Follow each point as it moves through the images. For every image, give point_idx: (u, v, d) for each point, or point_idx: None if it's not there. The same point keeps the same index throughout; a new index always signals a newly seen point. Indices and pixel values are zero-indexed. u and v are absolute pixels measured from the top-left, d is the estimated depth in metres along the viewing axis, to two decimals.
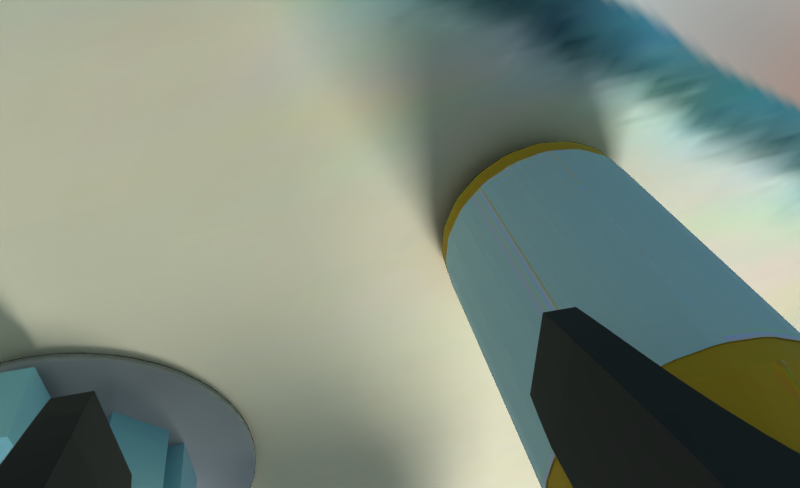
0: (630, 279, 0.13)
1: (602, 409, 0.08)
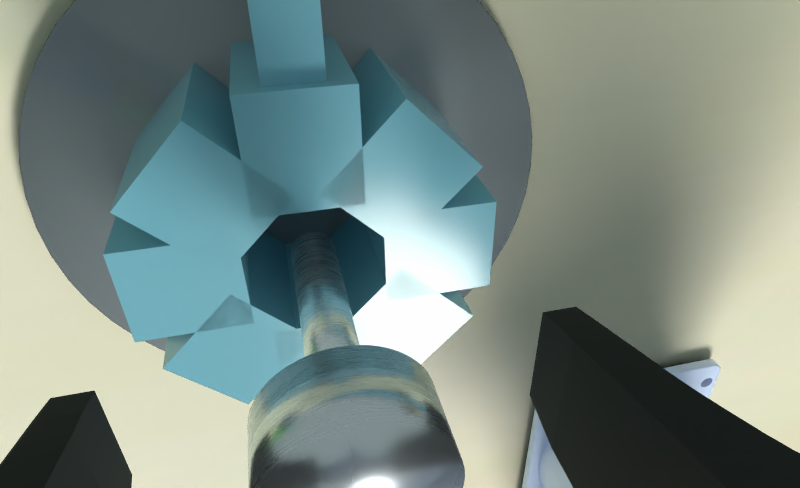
0: None
1: (602, 409, 0.08)
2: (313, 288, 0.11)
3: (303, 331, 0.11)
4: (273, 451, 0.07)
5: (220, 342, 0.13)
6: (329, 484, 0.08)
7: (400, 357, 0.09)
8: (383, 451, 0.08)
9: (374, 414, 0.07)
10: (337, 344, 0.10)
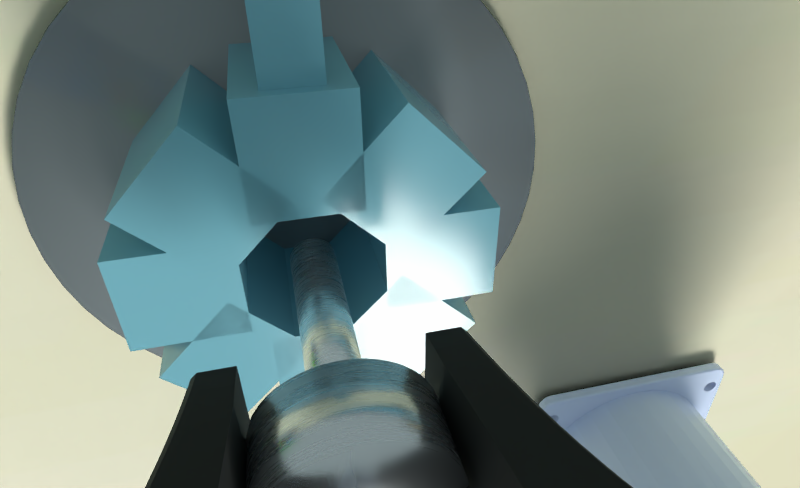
0: None
1: (467, 437, 0.08)
2: (313, 297, 0.11)
3: (303, 341, 0.10)
4: (272, 471, 0.07)
5: (217, 350, 0.13)
6: None
7: (404, 370, 0.09)
8: (386, 471, 0.07)
9: (377, 433, 0.07)
10: (338, 356, 0.10)
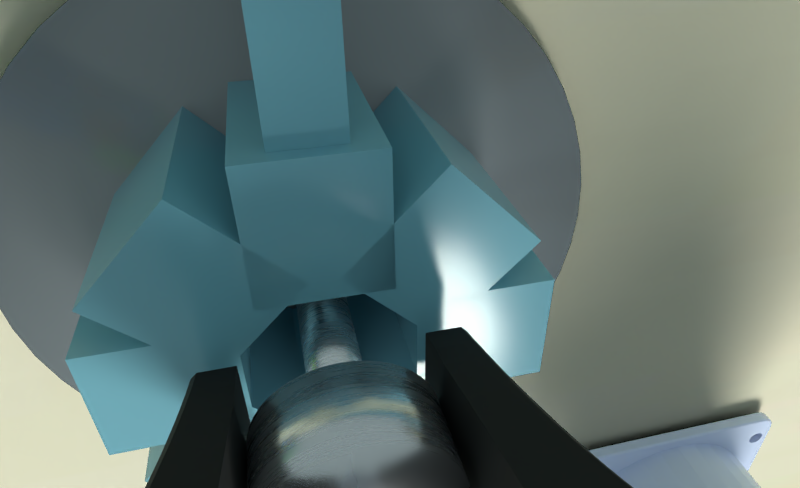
0: None
1: (467, 438, 0.08)
2: None
3: (303, 343, 0.10)
4: (273, 473, 0.07)
5: None
6: None
7: (404, 373, 0.09)
8: (387, 473, 0.07)
9: (377, 435, 0.07)
10: (338, 357, 0.10)
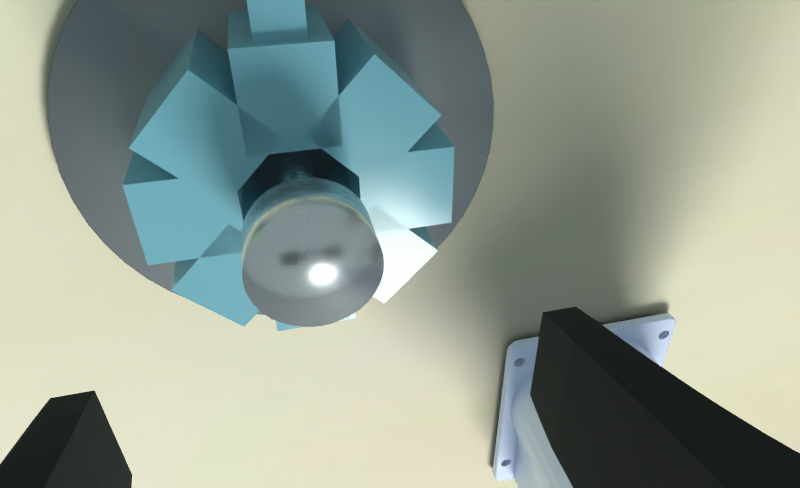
0: None
1: (601, 410, 0.08)
2: (289, 166, 0.16)
3: None
4: (257, 230, 0.12)
5: (220, 267, 0.15)
6: (294, 256, 0.12)
7: (343, 190, 0.13)
8: (327, 232, 0.12)
9: (320, 206, 0.12)
10: None
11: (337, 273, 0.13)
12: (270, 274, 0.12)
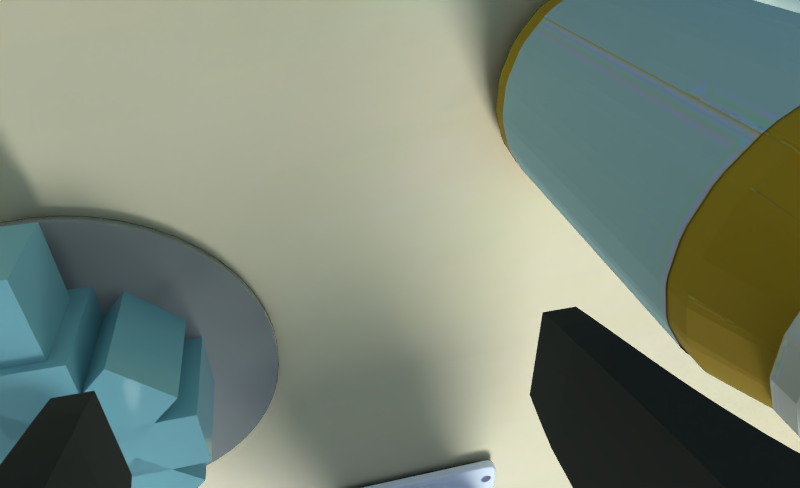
0: (755, 35, 0.11)
1: (601, 409, 0.08)
2: None
3: None
4: None
5: None
6: None
7: None
8: None
9: None
10: None
11: None
12: None
